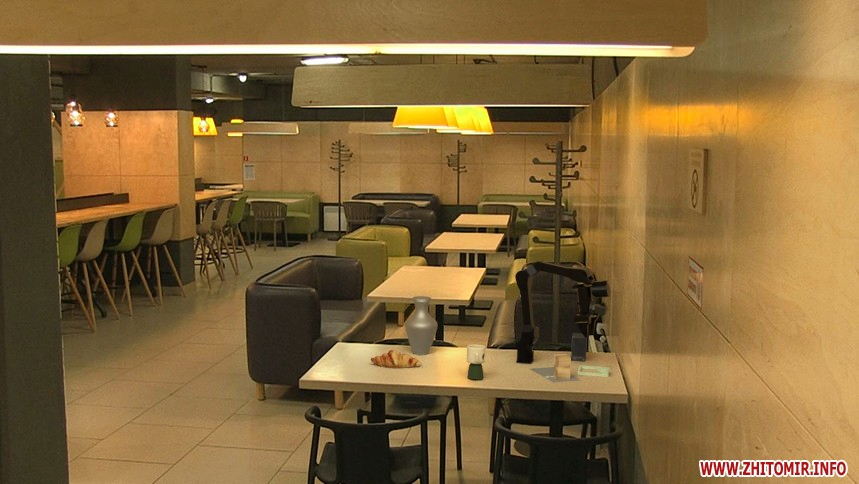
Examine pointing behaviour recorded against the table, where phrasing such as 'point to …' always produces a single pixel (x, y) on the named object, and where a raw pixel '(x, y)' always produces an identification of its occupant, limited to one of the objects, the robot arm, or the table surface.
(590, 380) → the table surface
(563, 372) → the stub
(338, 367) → the table surface
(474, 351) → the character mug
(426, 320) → the vase
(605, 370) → the tray
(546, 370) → the ticket board
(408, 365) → the croissant
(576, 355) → the small box
